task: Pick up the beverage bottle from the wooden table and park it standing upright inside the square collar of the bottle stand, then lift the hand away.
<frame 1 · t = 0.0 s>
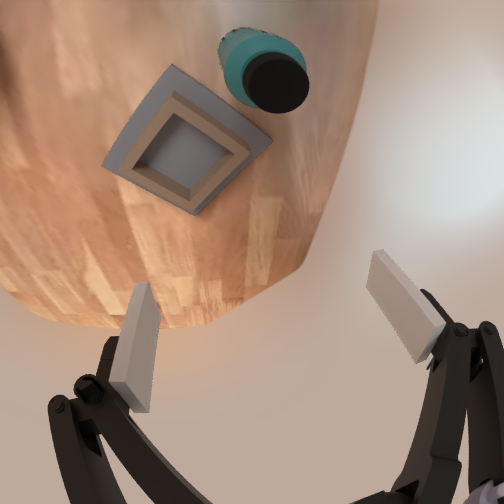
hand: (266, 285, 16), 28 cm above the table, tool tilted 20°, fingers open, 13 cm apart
bottle stand: (183, 147, 37), on the table
beverage bottle: (242, 48, 27), on the table
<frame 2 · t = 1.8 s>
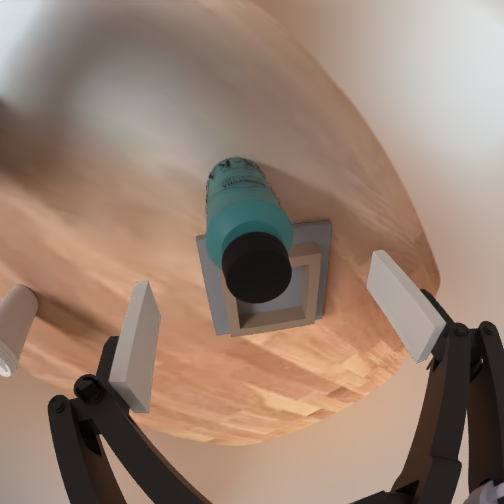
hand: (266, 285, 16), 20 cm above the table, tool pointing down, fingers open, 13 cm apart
coffee cup: (25, 297, 37), on the table
bottle stand: (267, 281, 41), on the table
beverage bottle: (233, 178, 33), on the table
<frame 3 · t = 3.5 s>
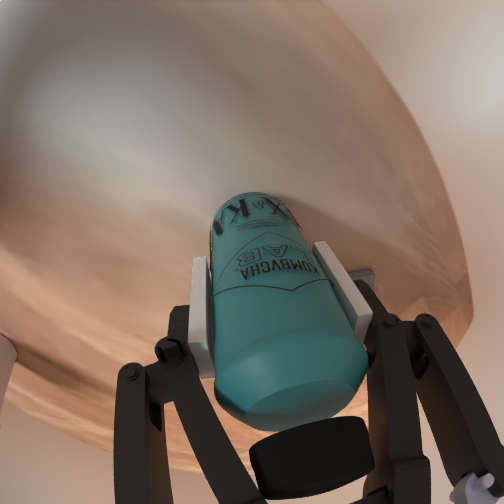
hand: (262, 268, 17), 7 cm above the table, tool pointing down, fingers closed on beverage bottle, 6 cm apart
coffee cup: (2, 343, 27), on the table
beverage bottle: (248, 219, 23), on the table, touching gripper
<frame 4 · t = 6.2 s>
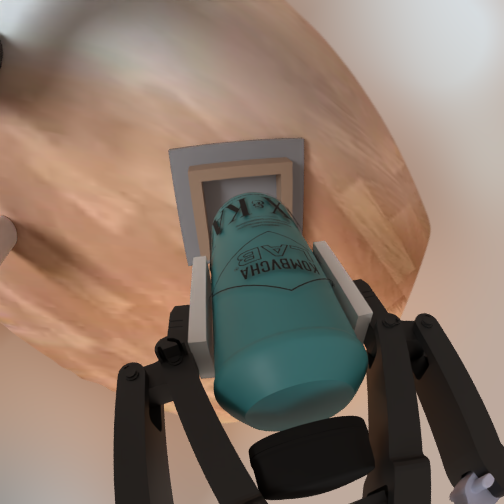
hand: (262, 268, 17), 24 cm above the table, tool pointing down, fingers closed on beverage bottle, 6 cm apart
coffee cup: (5, 231, 35), on the table
bottle stand: (240, 202, 40), on the table
beverage bottle: (248, 219, 23), point 16 cm above the table, touching gripper
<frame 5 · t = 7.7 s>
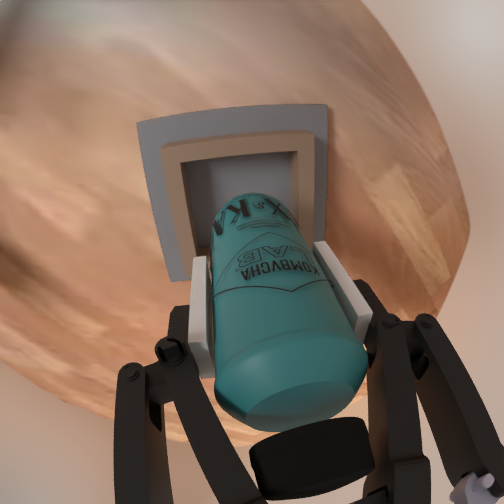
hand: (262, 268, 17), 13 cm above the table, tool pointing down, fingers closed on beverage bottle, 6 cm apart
bottle stand: (240, 194, 28), on the table
beverage bottle: (248, 219, 23), point 6 cm above the table, touching gripper
when the fingers open (9 cm above the table, at t = 8.8 s): beverage bottle drops 1 cm, resting on bottle stand.
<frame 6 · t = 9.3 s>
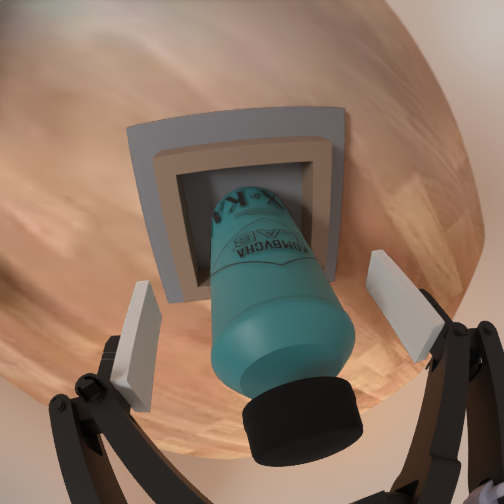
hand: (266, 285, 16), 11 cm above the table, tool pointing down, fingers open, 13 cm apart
bottle stand: (245, 209, 25), on the table
beverage bottle: (245, 212, 24), point 1 cm above the table, touching bottle stand
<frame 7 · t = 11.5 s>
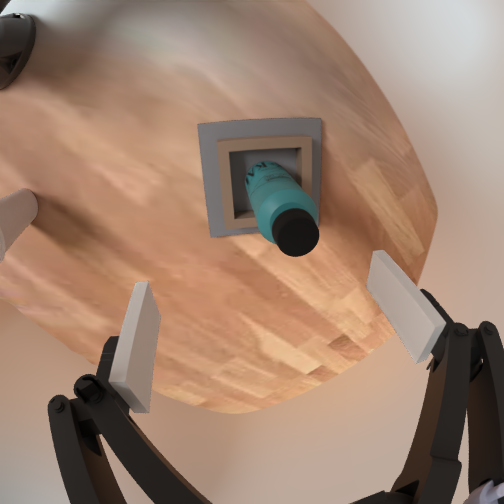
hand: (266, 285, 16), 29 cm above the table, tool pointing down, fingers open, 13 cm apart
coffee cup: (26, 204, 38), on the table
bottle stand: (262, 176, 42), on the table
beverage bottle: (263, 177, 41), point 1 cm above the table, touching bottle stand
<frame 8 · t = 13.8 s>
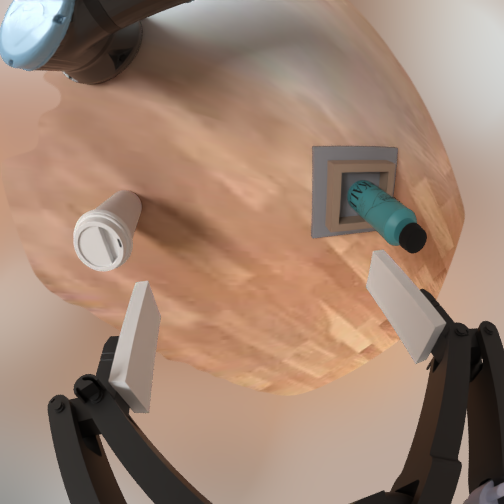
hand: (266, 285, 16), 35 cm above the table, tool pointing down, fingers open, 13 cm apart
coffee cup: (125, 206, 47), on the table
bottle stand: (354, 190, 51), on the table
beverage bottle: (356, 191, 50), point 1 cm above the table, touching bottle stand
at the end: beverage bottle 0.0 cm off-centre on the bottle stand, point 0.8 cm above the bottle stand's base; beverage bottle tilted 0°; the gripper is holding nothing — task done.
